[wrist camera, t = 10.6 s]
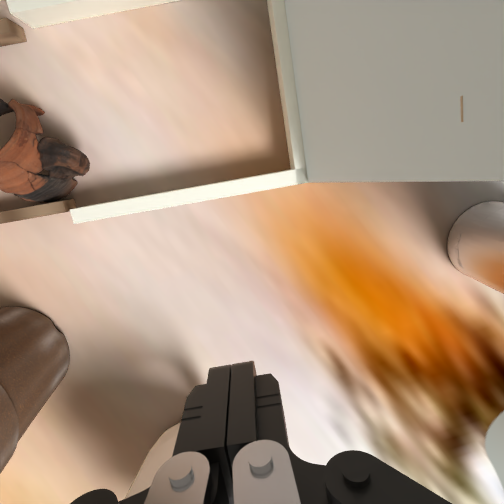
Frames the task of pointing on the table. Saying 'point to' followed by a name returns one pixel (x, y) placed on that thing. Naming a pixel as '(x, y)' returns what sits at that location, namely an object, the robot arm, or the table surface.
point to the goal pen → (7, 34)
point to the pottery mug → (37, 159)
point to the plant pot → (26, 371)
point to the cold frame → (357, 92)
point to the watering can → (155, 460)
